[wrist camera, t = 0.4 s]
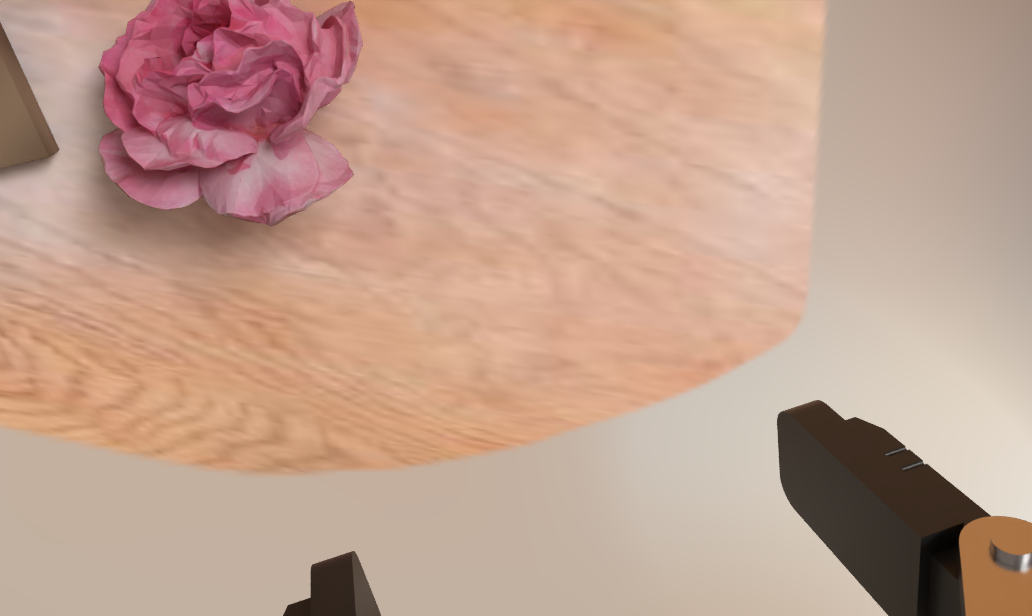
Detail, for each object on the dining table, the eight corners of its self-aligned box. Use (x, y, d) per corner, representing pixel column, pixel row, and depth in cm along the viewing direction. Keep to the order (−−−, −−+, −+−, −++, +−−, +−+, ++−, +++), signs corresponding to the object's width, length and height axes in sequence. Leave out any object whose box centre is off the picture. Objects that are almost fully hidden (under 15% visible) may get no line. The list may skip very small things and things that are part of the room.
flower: (119, 22, 36) (86, -135, 27) (334, 56, 39) (370, -73, 30) (101, 255, 33) (57, 170, 24) (332, 269, 37) (370, 199, 28)
